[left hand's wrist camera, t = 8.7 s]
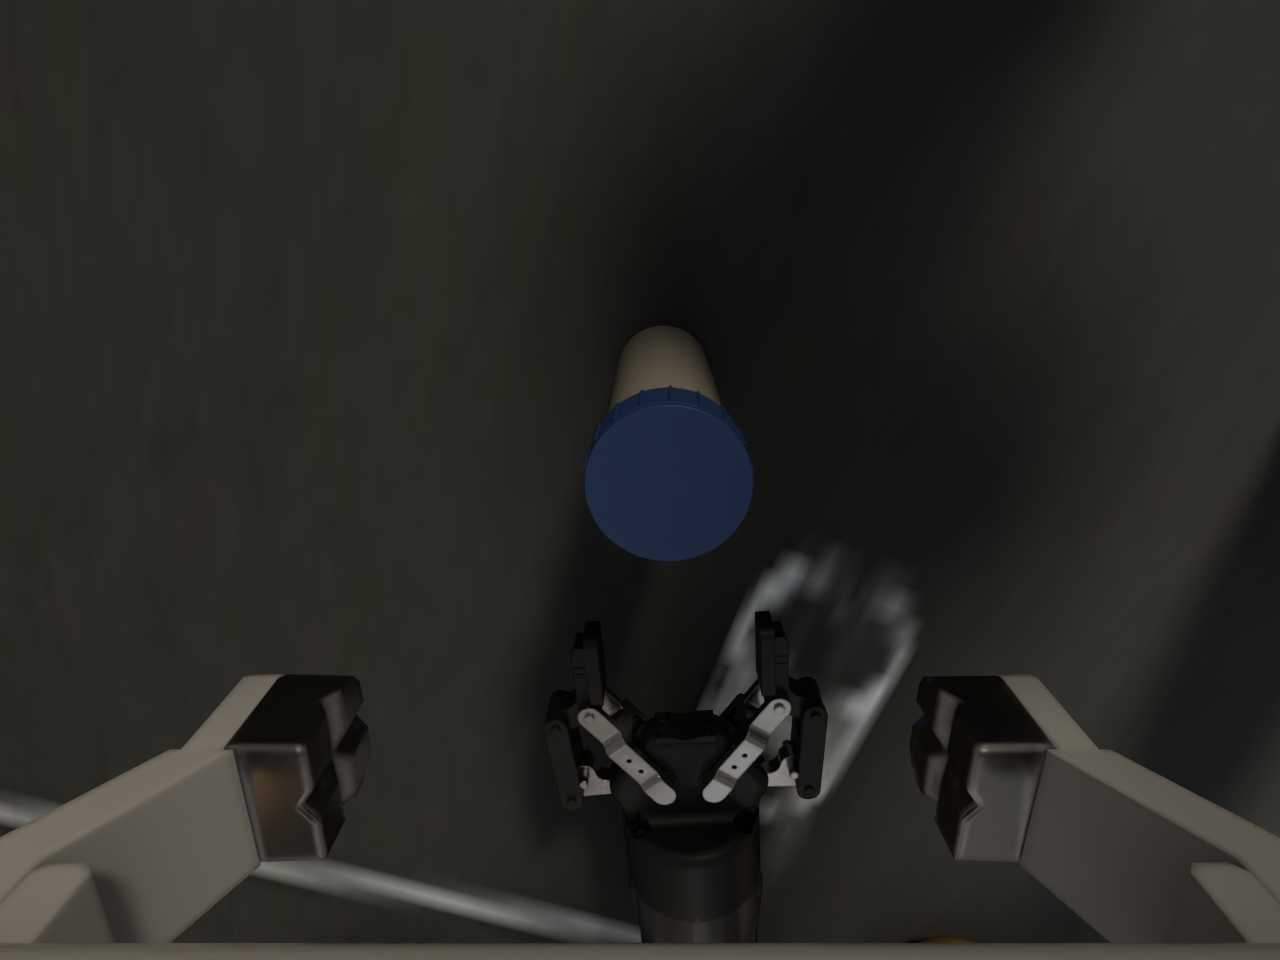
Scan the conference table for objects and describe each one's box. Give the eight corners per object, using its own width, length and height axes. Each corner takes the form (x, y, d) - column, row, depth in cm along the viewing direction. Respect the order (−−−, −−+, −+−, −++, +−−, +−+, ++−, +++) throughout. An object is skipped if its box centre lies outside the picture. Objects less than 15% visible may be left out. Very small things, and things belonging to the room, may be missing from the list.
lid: (602, 370, 24) (597, 387, 22) (765, 402, 24) (775, 422, 22) (575, 518, 26) (569, 546, 24) (726, 546, 26) (732, 576, 24)
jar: (626, 317, 36) (609, 397, 22) (717, 335, 37) (758, 426, 23) (609, 406, 38) (583, 532, 24) (697, 423, 38) (722, 558, 24)
